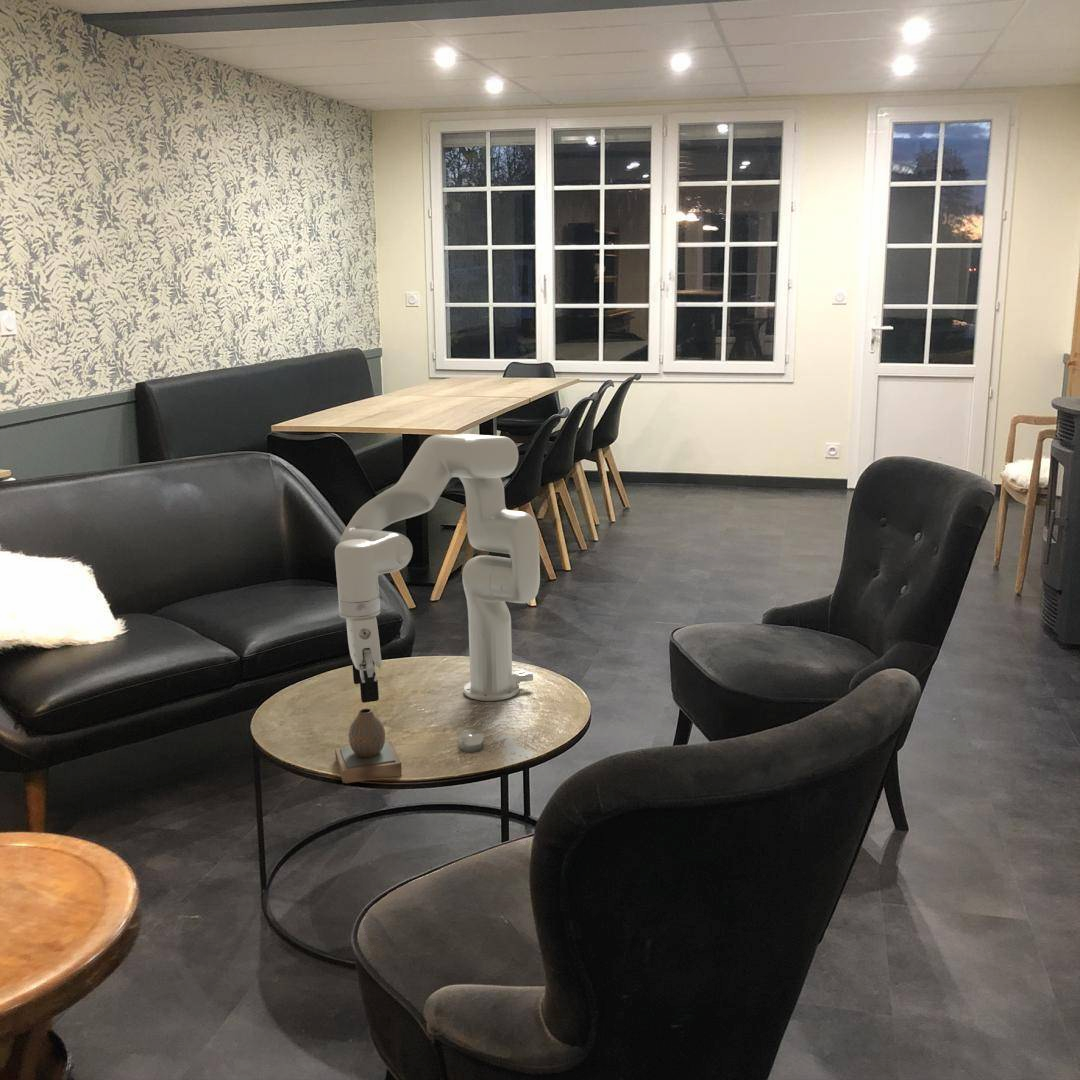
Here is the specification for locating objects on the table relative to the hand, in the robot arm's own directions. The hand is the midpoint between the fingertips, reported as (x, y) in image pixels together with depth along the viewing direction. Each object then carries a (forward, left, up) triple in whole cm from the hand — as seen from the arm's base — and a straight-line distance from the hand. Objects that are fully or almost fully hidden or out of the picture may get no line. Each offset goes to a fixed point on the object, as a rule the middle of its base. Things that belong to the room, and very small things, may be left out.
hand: (366, 691), depth 211 cm
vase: (0, 0, -13) cm, 13 cm away
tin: (-21, -2, -15) cm, 26 cm away
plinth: (0, 0, -15) cm, 15 cm away
